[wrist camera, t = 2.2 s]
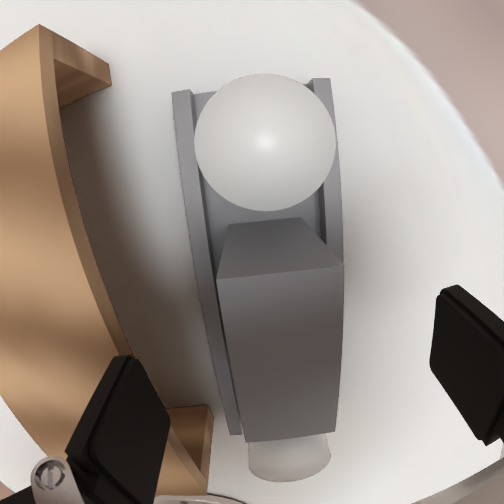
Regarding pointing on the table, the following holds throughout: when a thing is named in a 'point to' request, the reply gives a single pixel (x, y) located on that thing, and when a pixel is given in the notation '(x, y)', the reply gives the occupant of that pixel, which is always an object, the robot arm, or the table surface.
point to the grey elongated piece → (268, 260)
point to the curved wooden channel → (62, 266)
